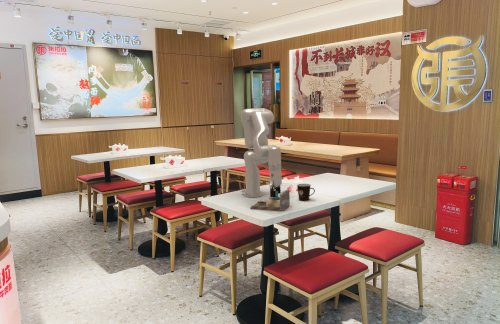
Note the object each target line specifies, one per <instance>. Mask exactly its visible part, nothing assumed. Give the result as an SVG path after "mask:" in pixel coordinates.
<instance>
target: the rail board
mask: <svg viewBox="0 0 500 324" xmlns="http://www.w3.org/2000/svg"><path fill="white" fill-rule="evenodd" d="M279 197H280V208H279V207H266V201H261V200H258V201H257V202H256V203H254V204H253V205H250V207H249V209H250V210H260V211H271V212H273V211H274V212H285V211H286V210H287V209H288V208H289V207H291V206H290V204H291V202H290V199H291V198H290V197H291V196H290V189H285V190H284V191H282V192H281V193H280V194H279Z"/></svg>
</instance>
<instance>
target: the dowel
mask: <svg viewBox="0 0 500 324" xmlns="http://www.w3.org/2000/svg"><path fill="white" fill-rule="evenodd" d="M278 197H279V194H278V191H276V197H273V200H278Z"/></svg>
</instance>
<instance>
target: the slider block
mask: <svg viewBox="0 0 500 324" xmlns="http://www.w3.org/2000/svg"><path fill="white" fill-rule="evenodd" d="M265 200H266V201H265V202H266V207H279V208H280V196H278V200H273V197H270V196H269V197H268V198H267V199H265Z"/></svg>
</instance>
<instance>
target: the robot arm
mask: <svg viewBox="0 0 500 324" xmlns="http://www.w3.org/2000/svg"><path fill="white" fill-rule="evenodd" d="M240 121H241V124H242V128H243V135H244V136H243V137H244V145H245V147H246V148H247V149H250V150H247V151H245V152H244V154H243V160H244V166H245V186H246V187H245V189H244V188H242V189H240V190H241V193H244V197H246V198H259V197H263V192H261V178H260V176H261V174H260V173H261V172H260V168H259V167H258V166H257V165H259V164H267V163H268V164H267V165H268V171H269V175H268V176H269V180H268V181H269V195H270V196H269V198H270V197H276V191H278V195H280V194H281V193H282V192H281V185H282V183H283V181H282V151H281V150H282V149H281V147H280V146H278V145H276V144H269V140H268V139H269V138H268V137H267V136H268V135H269V133H270V128H269V125H270V124H273V123H274V121H275V115H274V113H273V112H272V110H269V109H267V108H262V107H260V108H259V107H257V108H256V107H255V108H253V107H252V108H244V109H242V110H241V112H240ZM251 149H252V150H251Z"/></svg>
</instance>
